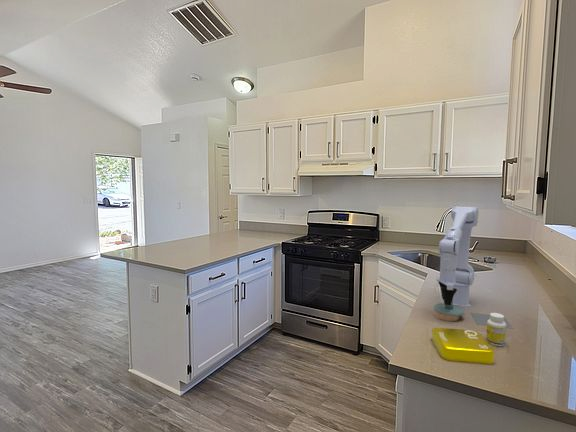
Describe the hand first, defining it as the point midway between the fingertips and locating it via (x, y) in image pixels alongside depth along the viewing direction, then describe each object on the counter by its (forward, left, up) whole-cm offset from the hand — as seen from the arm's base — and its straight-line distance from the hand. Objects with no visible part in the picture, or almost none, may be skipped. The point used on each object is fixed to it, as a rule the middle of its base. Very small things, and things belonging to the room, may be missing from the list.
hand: (446, 302), depth 129 cm
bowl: (0, 0, -6) cm, 6 cm away
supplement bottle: (+18, +13, -7) cm, 23 cm away
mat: (-1, +16, -6) cm, 17 cm away
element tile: (+27, +1, -7) cm, 28 cm away
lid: (0, +1, -3) cm, 4 cm away
